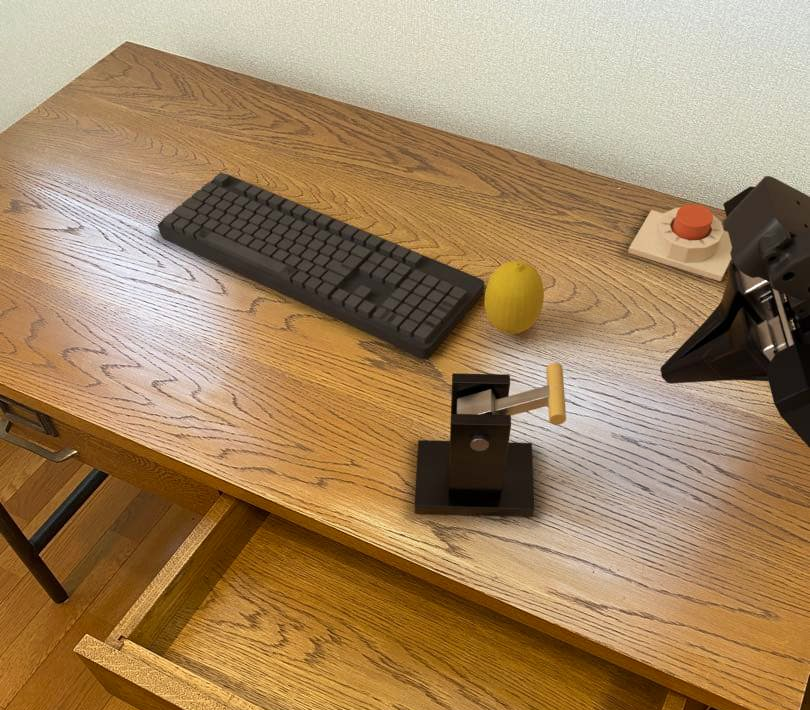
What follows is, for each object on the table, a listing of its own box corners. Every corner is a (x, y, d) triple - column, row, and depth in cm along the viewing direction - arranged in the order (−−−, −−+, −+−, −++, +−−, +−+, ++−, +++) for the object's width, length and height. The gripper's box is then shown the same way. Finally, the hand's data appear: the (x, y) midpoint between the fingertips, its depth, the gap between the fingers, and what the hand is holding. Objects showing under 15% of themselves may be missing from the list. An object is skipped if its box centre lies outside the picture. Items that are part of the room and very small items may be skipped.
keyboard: (485, 291, 77) (487, 275, 75) (426, 360, 72) (426, 345, 70) (225, 182, 87) (220, 166, 86) (158, 236, 83) (153, 220, 81)
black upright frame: (530, 450, 66) (546, 364, 57) (532, 517, 63) (550, 437, 53) (418, 448, 67) (416, 362, 58) (414, 513, 63) (411, 433, 54)
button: (712, 225, 78) (717, 210, 76) (701, 245, 76) (707, 230, 75) (678, 215, 79) (683, 200, 77) (667, 235, 77) (672, 220, 76)
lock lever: (566, 376, 56) (557, 355, 55) (570, 427, 54) (561, 407, 52) (469, 403, 60) (457, 384, 58) (468, 453, 57) (455, 435, 55)
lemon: (471, 337, 74) (476, 270, 67) (500, 303, 76) (506, 236, 69) (520, 359, 72) (530, 293, 65) (548, 324, 74) (560, 257, 67)
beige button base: (740, 241, 80) (748, 221, 77) (720, 281, 76) (729, 261, 74) (649, 215, 82) (655, 194, 80) (627, 252, 79) (633, 232, 77)
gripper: (819, 50, 42) (587, 218, 52) (914, 273, 33) (610, 426, 43) (888, 179, 49) (669, 307, 59) (984, 397, 39) (705, 505, 49)
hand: (663, 376), depth 52 cm, fingers closed
